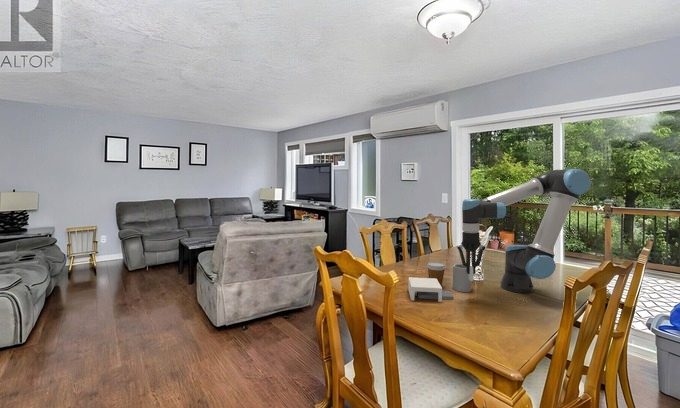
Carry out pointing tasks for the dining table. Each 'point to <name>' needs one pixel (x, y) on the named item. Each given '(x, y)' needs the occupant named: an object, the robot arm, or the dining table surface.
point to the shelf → (424, 286)
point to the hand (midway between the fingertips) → (470, 280)
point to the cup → (461, 278)
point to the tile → (434, 295)
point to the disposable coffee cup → (436, 271)
